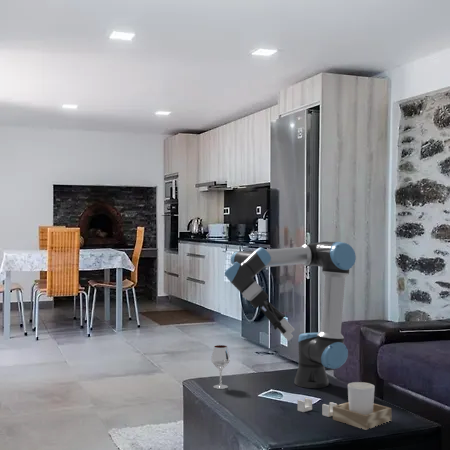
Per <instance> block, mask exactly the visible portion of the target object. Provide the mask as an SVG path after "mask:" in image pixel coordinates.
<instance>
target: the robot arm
mask: <svg viewBox="0 0 450 450" xmlns="http://www.w3.org/2000/svg"><path fill="white" fill-rule="evenodd" d="M356 259H357V256H356V252H355V249H354V248H353V247H352V245H350V244H349V243H347V242H342V241H319V242H313V243H307V244H302V245H301V246H299V247H296V246H295V247H285V248H271V249H270V248H269V249H266V248H264V247H261V246H260V247H258V248H257V249H254V250H245V251H243V250H238V251H237V250H236V251H234V253H232V255H231V257H230V264H231V265H230V266H229V267H228V268H227V269H226V270H225V272H224V276H225V277H226V278H227V279H228V281H229V282H230V283H231V284H232V285H233V286H234V287H235V288H236V290H237V291H238V292H239V293H240V294H241V295H242V298H243V299H245V300H247V301H249V304H250V305H251V306H252V307H253V308H254V309H257V308H259V307H260V308H259V309H260V311H261V312H262V313H263V314H264V316H265V317H266V318H267V320H268V321H269V322H270V323H271V326H273V329H274V330H275V331H276V330H277V331H279V333H280V334H281V335H282V336H283V337H284V338H285V339H286V340H287V341H288V342H289V341H291V340H292V338H294V335H293V334H292V333H293V332H295V330H296V329H295V328H294V326H293V325H291V324H290V322H289V321H288V320H287V319H286V318H285V317H286V315H285V314H283V313H282V312H280V311H279V310H278V309H277V308H276V307H275V306H274V305H273V304H272V303H271V302H270V301H269V299H268V298H269V295H268V293H267V292H266V291H265V290H263V289H262V288H263V287H261V285H260V284H259V283H257V281H256V280H255V279H254V277H256V276H257V274H259V273H260V272H261V271H262V270H263V269H264V268H268V267H269V268H270V267H280V266H281V267H282V266H283V267H284V266H293V265H303V266H305V267H307V266H308V267H309V266H314V267H321V268H322V269H321V270H322V271H321V272H322V274H323V275H324V287H323V298H322V299H323V300H322V311H321V321H320V322H321V325H320V331H319V332H305V333H300V334H299V335H298V341H297V344H298V368H297V371H296V374H295V377H294V384H295V385H296V386H298V387H301V388H306V389H307V388H308V389H320V388H325V387H327V386H329V377H328V375H327V371H326V368H327V369H332V370H336V369H339V368H341V367H342V366H343V365H344V364H345V363H346V361H347V360H348V356H349V351H348V348H347V346H346V345H345V343H344V341H345V337H344V335H343V334H342V325H343V324H342V323H343V313H344V312H343V308H344V297H345V296H344V295H345V287H346V286H345V285H346V278H347V277H348V276H349V275H350V269H352V268H353V266H354V265H355V263H356Z"/></svg>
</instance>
